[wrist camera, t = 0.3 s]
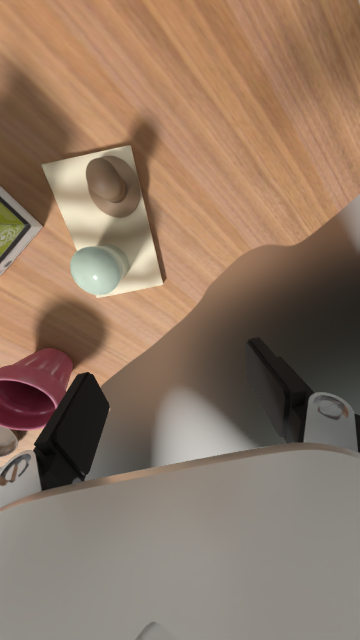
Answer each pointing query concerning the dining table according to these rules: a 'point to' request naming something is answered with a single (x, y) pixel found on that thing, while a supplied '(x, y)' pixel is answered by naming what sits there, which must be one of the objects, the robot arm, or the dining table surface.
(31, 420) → the plant pot
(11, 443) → the plant saucer
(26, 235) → the tea box
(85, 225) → the board
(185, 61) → the dining table surface
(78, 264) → the jar
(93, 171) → the lid
